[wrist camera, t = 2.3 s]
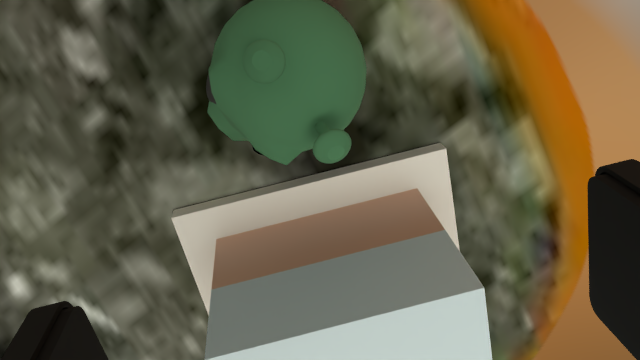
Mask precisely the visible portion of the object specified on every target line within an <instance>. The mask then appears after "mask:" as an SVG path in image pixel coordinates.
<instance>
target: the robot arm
mask: <svg viewBox="0 0 640 360" xmlns="http://www.w3.org/2000/svg"><path fill="white" fill-rule="evenodd" d="M588 236H589V289H590V290H589V291H590V292H589V296H590V301H591V305H592V307H593V310H594V312H595V313H596V315H597V316H598V317H599V319H600V320H601V321H602V322H603V323H604V324H605V325H606V326H607V327H608V328H609V330H610V331H611V332H612V333H613V334H614V335H615V336H616V337H617V338H618V339H619V341H620V342H621V343H622V344H623V345H624V346H625V347H626V348H627V349H628V351H630V353H632V355H633V356H634V357H635V358H636V359H637V360H640V162H639V161H637V160H634V159H631V160H626V161H622V162H618V163H614V164H610V165H606V166H602V167H599V168H598V169H597V171H596V174H595V176H594V177H591V178H590V179H589V181H588ZM1 360H108V358H107V356H106V354H105V352H104V350H103V348H102V346H101V344H100V342H99V340H98V338H97V336H96V334H95V332H94V330H93V328H92V326H91V324H90V322H89V320H88V318H87V316H86V314H85V312H84V310H83V309H82V308H81V307H79V306H76V307H73V306H72V305H71V304H70V303H69V302H67V301H63V302H59V303H55V304H51V305H47V306H43V307H39V308H35V309H32V310H31V311H30V312H29V313H28V315H27V316H26V318H25V320H24V322H23V323H22V325H21V327H20V328H19V330H18V332H17V333H16V335H15V337H14V338H13V340H12V342H11V343H10V345H9V347H8V348H7V350H6V352H5V353H4V355H3V357H2V358H1Z"/></svg>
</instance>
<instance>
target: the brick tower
mask: <svg viewBox="0 0 640 360" xmlns="http://www.w3.org/2000/svg"><path fill="white" fill-rule="evenodd" d="M171 219H172V221H173V224H174V226H175V229H176V232H177V234H178V237H179V239H180V242H181V245H182V247H183V250H184V253H185V255H186V258H187V260H188V263H189V266H190V268H191V271H192V273H193V276H194V279H195V281H196V284H197V286H198V289H199V292H200V294H201V297H202V299H203V302H204V305H205V307H206V310H207V312H208V315H209V319H208V329H207V339H206V349H205V359H204V360H492V353H491V344H490V335H489V326H488V317H487V308H486V299H485V290H484V287H483V285H482V284H481V282H480V281H479V279H478V278H477V276H476V275H475V273H474V272H473V270H472V269H471V267H470V266H469V264H468V263H467V261H466V260H465V259H464V257H463V256H462V254H461V253H460V250H459V243H458V235H457V227H456V220H455V212H454V205H453V197H452V189H451V182H450V174H449V166H448V159H447V151H446V148H445V147H444V146H443V145H442V144H441V143H437V144H433V145H429V146H425V147H421V148H417V149H413V150H409V151H405V152H401V153H397V154H393V155H390V156H386V157H382V158H378V159H374V160H370V161H366V162H362V163H358V164H354V165H350V166H346V167H342V168H338V169H334V170H330V171H326V172H322V173H318V174H314V175H310V176H306V177H302V178H299V179H295V180H291V181H287V182H283V183H279V184H275V185H271V186H267V187H263V188H259V189H255V190H251V191H247V192H243V193H239V194H235V195H231V196H227V197H223V198H219V199H215V200H211V201H207V202H204V203H200V204H196V205H192V206H188V207H184V208H180V209H176V210H173V214H172V217H171Z"/></svg>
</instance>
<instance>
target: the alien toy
mask: <svg viewBox="0 0 640 360" xmlns="http://www.w3.org/2000/svg"><path fill="white" fill-rule="evenodd" d="M208 71H209V74H208V78H207V84H206V91H207V97H208V99H209V105H208V111H207V112H208V114H209V115H210V117H211V118H212V120H213V121H214V123H215V124H216V125H217V127H218V128H219V129H220V130H221V131H222V132H223V133H225V134H226V135H227V136H228V137H229V138H230V139H232V140H233V141H249V142H250V143H251V144H252V146H253V150H254V151H255V152H257V153H258V154H261V155H265V156H266V157H268V158H270V159H272V160H274V161H277V162H280V163H282V164H285V165H287V164H289V163H290V162H291V161H292V160H293V159H294V158H295V157H297V156H298V155H299V154H300V153H301V152H303V151H307V150H310V149H313V154H314V156H315V157H316V159H317V160H319V161H320V162H323V163H335V162H338V161H340V160H341V159H343V158H344V157H345V156H346V155H347V154H348V152H349V150H350V148H351V138H350V136H349V134H348V133H347V132H345V131H344V129H345V128H346V127H347V126H348V125H349V124H350V122H351V121H352V119H353V117H354V116H355V114H356V113H357V111H358V109H359V107H360V104H361V101H362V98H363V95H364V91H365V87H366V63H365V58H364V54H363V49H362V45H361V43H360V41H359V39H358V37H357V35H356V33H355V32H354V30H353V28H352V26H351V25H350V24H349V23H348V22H347V20H346V19H345V18H344V17H343V16H342V15H341V14H340V13H339V12H338V11H337V10H336V9H335V8H333V7H331V6H330V5H328V4H326V3H325V2H323V1H322V0H253V1H251V2H250V3H248V4H246V5H245V6H243V7H241V8H240V9H239V10H238V11H237V12H236V13H235V14H234V15H233V16H232V17H231V18H230V19H229V20H228V22H227V23H226V24H225V25H224V27H223V29H222V31H221V33H220V35H219V37H218V39H217V41H216V43H215V46H214V51H213V56H212V61H211V65H210V67H209V69H208Z"/></svg>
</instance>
